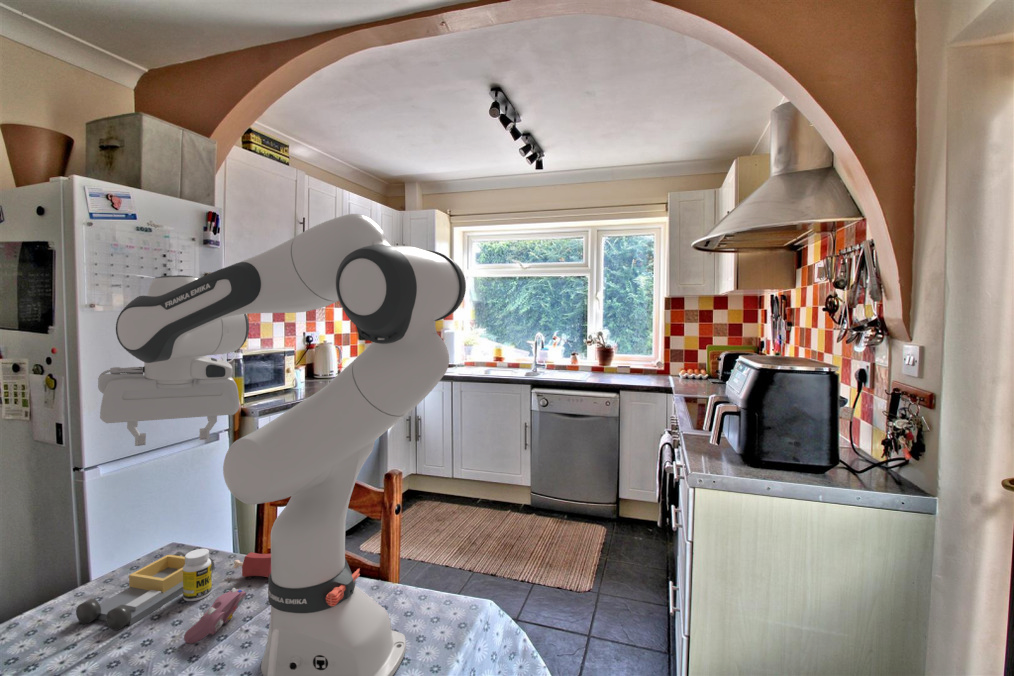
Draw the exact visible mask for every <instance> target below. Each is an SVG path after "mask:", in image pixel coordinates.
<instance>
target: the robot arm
mask: <svg viewBox="0 0 1014 676" xmlns="http://www.w3.org/2000/svg"><path fill="white" fill-rule="evenodd" d="M466 283H467V282H466V278H465V275H464V272H463V270H462V269H461V267H460V266H459V265H458V263H457V262H455V260H453V259H452V258H450V257H449V256H447V255H445V254H444V253H440V252H438V251H434V250H427V249H422V248H419V247H416V246H409V245H391V244H390V242H389V240H388V238H387V235H386V234H385V232H384V230H383V229H382V228H381V226H380V225H378V223H377V222H375V221H374V220H373V219H372V218H370V217H369V216H366V215H364V214H361V213H349V214H344V215H341V216H338V217H334V218H332V219H329V220H326V221H324V222H321V223H319V224H316V225H315V226H312V227H310V228H307V230H304V231H303V232H301V233H299V234H297V235H295V236H294V237H292V238H290V239H288V240H286V241H284V242H283V243H281V244H279V245H277V246H274V247H272V248H270V249H268V250H266V251H264V252H261V253H259V254H257V255H255V256H251V257H249V258H247V259H244V260H241V261H240V262H236V263H233V264H231V265H229V266H226V267H223V268H220V269H217V270H215V271H213V272H210V273H208V274H206V275H203V276H202V277H197V276H194V275H186V274H185V275H184V274H183V275H181V274H177V275H170V274H169V275H162V276H156V278H154V279H152V280H151V282H150V285H149V288H148V291H147V295H139V296H137V297H135V298H134V299H133V300H131V301H130V302H129V303H128V304H126V306H125V307H124V308H123V309H122V310H121V312H120V313H119V314H118V317H117V319H116V323H115V333H116V338H117V340H118V341H117V342H119V344H120V345H121V347H122V348H123V349H124V350H125V351H126V352H128V354H130V355H132V356H133V357H135V358H136V359H138V360H139V361H141V362H143V366H131V367H129V366H128V367H119V366H117V367H116V366H114V367H110V369H106V370H105V371H102V372H101V373H100V374H99V375H98V378H97V379H98V380H97V388H98V390H99V392H101V393H102V398H101V402H100V403H101V405H100V412H99V419H100V420H101V421H102V422H104V423H105V424H118V423H126V424H127V425H126V428H127V430H128V432H130V434H131V435H132V436H133V437H134V447H142V446H146V445H147V444H146V443H147V442H146V441H147V439H146V437H147V436H146V435H147V434H146V432H144V433H143V432H140V431H139V430H138V423H139V422H145V421H160V420H162V421H163V420H174V419H175V420H176V419H190V418H191V419H192V418H202V417H203V418H204V417H206V419H207V421H208V422H207V424H206V425H205V427H203V428H199V435H198V436H199V440H200V441H203V440H206V441H207V440H210V431H211V430H212V429H213V427H214V426H215V425H216V423H217V422H218V417H219V416H232V415H235V414H236V413H238V411H239V410H240V409H239V408H240V396H239V389H238V385H237V383H236V380H234V377H232V376H233V373H234V372H233V371H234V370H233V366H232V364H231V363H229V362H228V361H226V360H223V359H218V358H215V357H211V356H215V355H216V356H217V355H226V354H230V353H232V352H237V351H239V350H240V349H241V348H242V347H243V346H244V345H245V343H246V341H247V339H248V336H249V332H250V321H249V318H248V317H249V316H248V314H249V315H250V314H294V313H304V312H305V313H306V312H309V311H310V312H311V311H314V310H319V309H322V308H326V307H328V306H331V305H333V304H336V303H337V302H339V304H340V306H341V308H342V310H343V312H344V314H345V315H346V317H347V318H348V319H349V321H351V322H352V324H353V325H355V327H356V330H357V332H358V335H360V336H361V337H362V338H364V339H366V340H367V341H370V342H371V343H370V345H368V347H366V349H364V350H363V351H362V352H361V353H360V354H359V355H358V356H357V357H355V358H354V360H353V361H351V362H350V363H349V364H348V365H346V367H345V368H344V369H343V370H342V371H341V372H339V374H337V375H336V376H334V378H333V379H331V381H330V382H329V383H328V384H326V385H325V386H324V387H322V388H321V389H320V390H318V391H317V392H315V393H314V394H311V395H310V396H309V397H307V398H305V399H304V400H302V401H300V402H299V403H297V404H296V405H293V407H291V408H289V409H288V410H286V411H285V412H283V413H282V414H280V415H279V416H277V417H276V418H275V419H273V420H271V421H270V422H268V423H266V424H265V425H263V426H261V427H259V428H258V429H255V430H254V431H252V432H250V433H248V434H247V435H244V436H242V437H240V438H238V439H237V440H235V441H234V442H233V443H232V444H231V445H230V446H229V448H228V449H227V452H226V453H225V456H224V460H223V465H222V471H223V472H222V473H223V479H224V483H225V484H226V485H225V486H226V487H227V489H228V490H229V492H230V493H231V495H233V496H234V498H235V499H237V500H238V501H241V502H242V503H244V504H246V505H251V506H252V505H253V506H254V505H259V504H265V503H271V502H275V501H276V502H277V501H281V500H285V499H287V498H290V499H289V500H288V502H287V504H286V506H285V507H284V508H283V509H282V510H281V512H280V513H279V514H278V516H277V517H276V519H275V521H274V522H273V525H272V527H271V531H270V554H271V573H270V575H269V577H268V583H267V584H268V588H267V597H268V603H269V605H270V615H269V616H270V617H269V627H268V635H267V641H266V644H265V650H264V654H263V656H262V659H261V663H260V664H261V665H260V671H261V674H262V676H394V674H395V673H396V671H397V670H398V669H399V667H400V665H401V663H402V661H403V660H404V656H405V654H406V650H407V644H406V643H407V641H406V636H405V634H403V633H401V632H399V631H396V630H393V628H392V624H391V618H390V615H389V613H388V611H387V609H386V608H385V607H383V606H382V605H380V603H378V602H377V601H375V599H374V598H373V597H372V596H369V595H368V594H367V593H366V592H364V591H363V590H362V589H361V588H360V587H358V585H356V580H357V579H358V578H359V577H360V575H361V574H360V571H361V570H360V569H361V568H357V569H356V571H354V572H353V573H352V571H351V568H350V565H349V563H348V561H347V559H346V523H347V515H348V509H349V504H350V500H351V497H352V493H353V491H354V487H355V484H356V481H357V480H358V476H359V474H360V472H361V470H362V467H363V466H364V464H365V462H366V461H367V460H368V458H369V457H370V455H371V454H372V452H373V451H374V447H375V442H376V440H378V439H379V438H380V437H381V436H382V435H384V434H385V433H386V432H387V431H388V430H390V429H391V428H392V427H393V426H394V425H396V424H397V423H398V422H399V421H400V420H402V419H403V418H404V417H406V416H407V415H408V414H409V413H410V412H411V411H413V410H414V409H415V408H416V407H417V406H418V405H419V404H420V403H421V402H422V401H424V399H425V398H426V397H427V396H428V395H429V394H430V393H431V392H432V391H433V390H434V388H436V386H437V385H438V384H439V383H440V381H441V380H442V378H443V377H444V376H445V375H446V373H447V371H448V370H449V369H448V368H449V364H450V356H449V355H450V354H449V350H448V347H447V345H446V344H445V342H444V340H443V339H442V337H441V336H440V335H439V334H438V331H437V328H436V327H437V326H436V322H437V321H438V322H439V321H441V320H444V319H446V318H448V317H449V316H451V315H452V314H453V313H455V312H456V311H457V310H458V309H459V307H460V306H461V305H462V303H463V301H464V299H465V295H466V291H467V289H466V288H467V284H466Z"/></svg>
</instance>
